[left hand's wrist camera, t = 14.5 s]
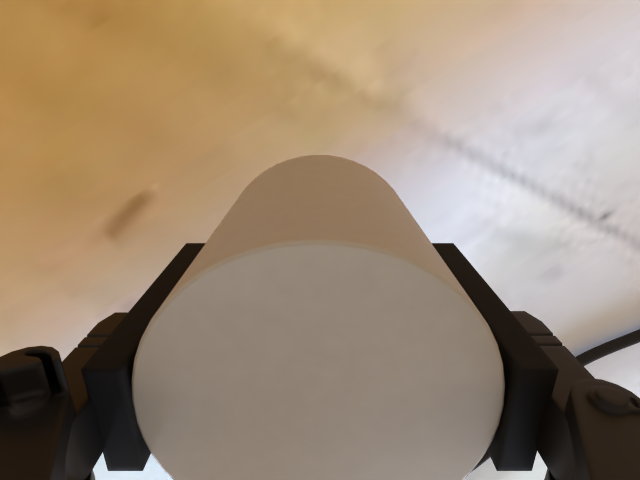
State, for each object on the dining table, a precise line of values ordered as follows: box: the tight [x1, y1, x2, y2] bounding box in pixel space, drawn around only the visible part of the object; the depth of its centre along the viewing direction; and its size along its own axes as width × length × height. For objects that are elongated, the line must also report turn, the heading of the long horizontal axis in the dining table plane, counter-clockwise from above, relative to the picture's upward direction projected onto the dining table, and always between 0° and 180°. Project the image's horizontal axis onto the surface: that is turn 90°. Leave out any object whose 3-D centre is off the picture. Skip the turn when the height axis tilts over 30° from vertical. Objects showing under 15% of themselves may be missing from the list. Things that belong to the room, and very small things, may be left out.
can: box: [132, 155, 505, 480], centre depth 12 cm, size 8×8×9 cm
